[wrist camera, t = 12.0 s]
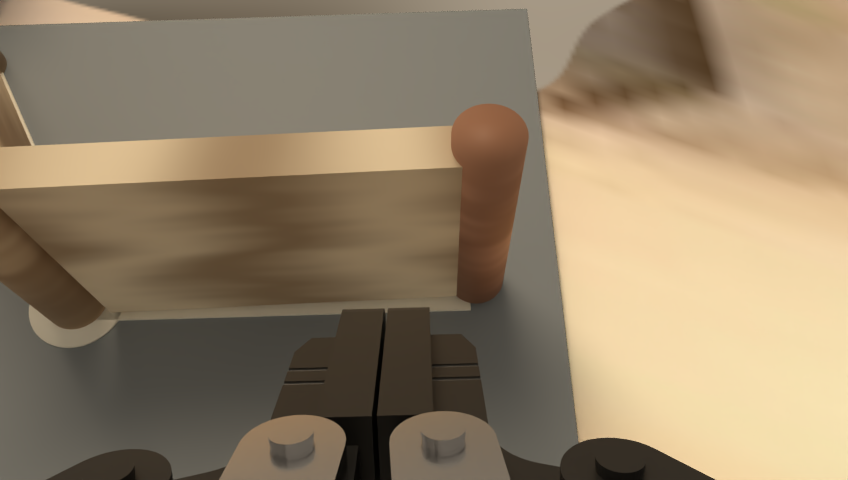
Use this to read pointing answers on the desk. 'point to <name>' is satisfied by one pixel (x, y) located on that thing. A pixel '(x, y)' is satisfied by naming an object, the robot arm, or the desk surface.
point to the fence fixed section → (37, 250)
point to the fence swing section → (277, 213)
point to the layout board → (267, 324)
